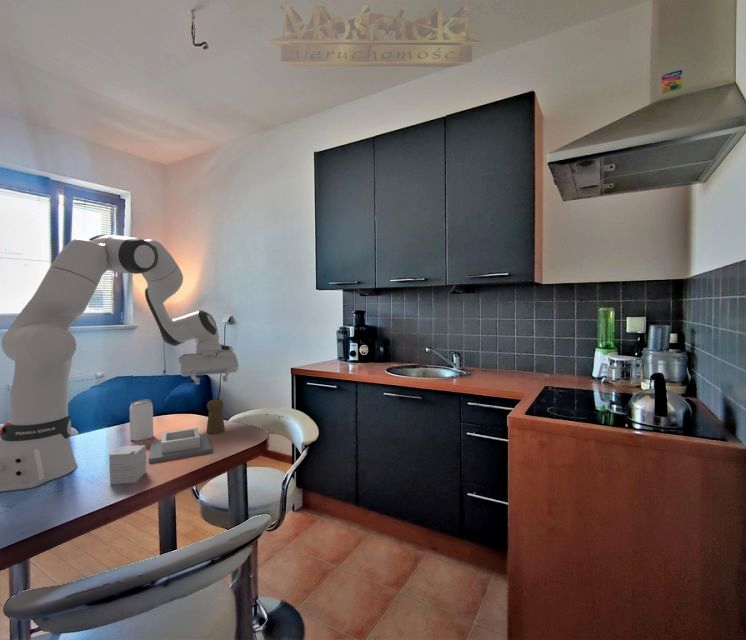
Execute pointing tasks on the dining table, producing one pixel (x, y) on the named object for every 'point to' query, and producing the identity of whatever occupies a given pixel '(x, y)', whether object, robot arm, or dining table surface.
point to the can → (141, 420)
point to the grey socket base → (179, 445)
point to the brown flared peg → (215, 417)
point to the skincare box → (127, 464)
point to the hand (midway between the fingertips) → (211, 382)
